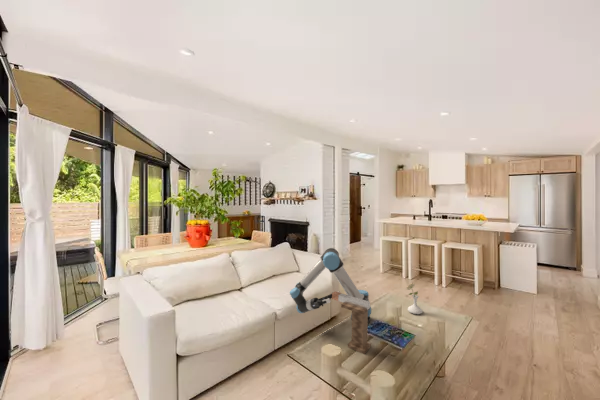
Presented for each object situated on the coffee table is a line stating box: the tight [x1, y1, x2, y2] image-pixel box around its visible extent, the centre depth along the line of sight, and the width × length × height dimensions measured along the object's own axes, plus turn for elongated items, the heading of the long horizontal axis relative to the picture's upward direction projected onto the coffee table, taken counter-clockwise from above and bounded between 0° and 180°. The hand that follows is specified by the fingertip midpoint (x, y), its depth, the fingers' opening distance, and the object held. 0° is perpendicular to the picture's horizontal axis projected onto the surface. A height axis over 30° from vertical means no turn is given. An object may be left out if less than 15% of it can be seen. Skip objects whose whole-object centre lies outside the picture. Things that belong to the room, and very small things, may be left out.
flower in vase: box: [406, 282, 423, 315], centre depth 222 cm, size 13×11×25 cm
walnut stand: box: [340, 302, 372, 355], centre depth 178 cm, size 17×10×28 cm, turn 52°
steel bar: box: [331, 290, 371, 310], centre depth 180 cm, size 26×4×4 cm, turn 52°
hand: (335, 296), depth 186 cm, fingers open, 13 cm apart
